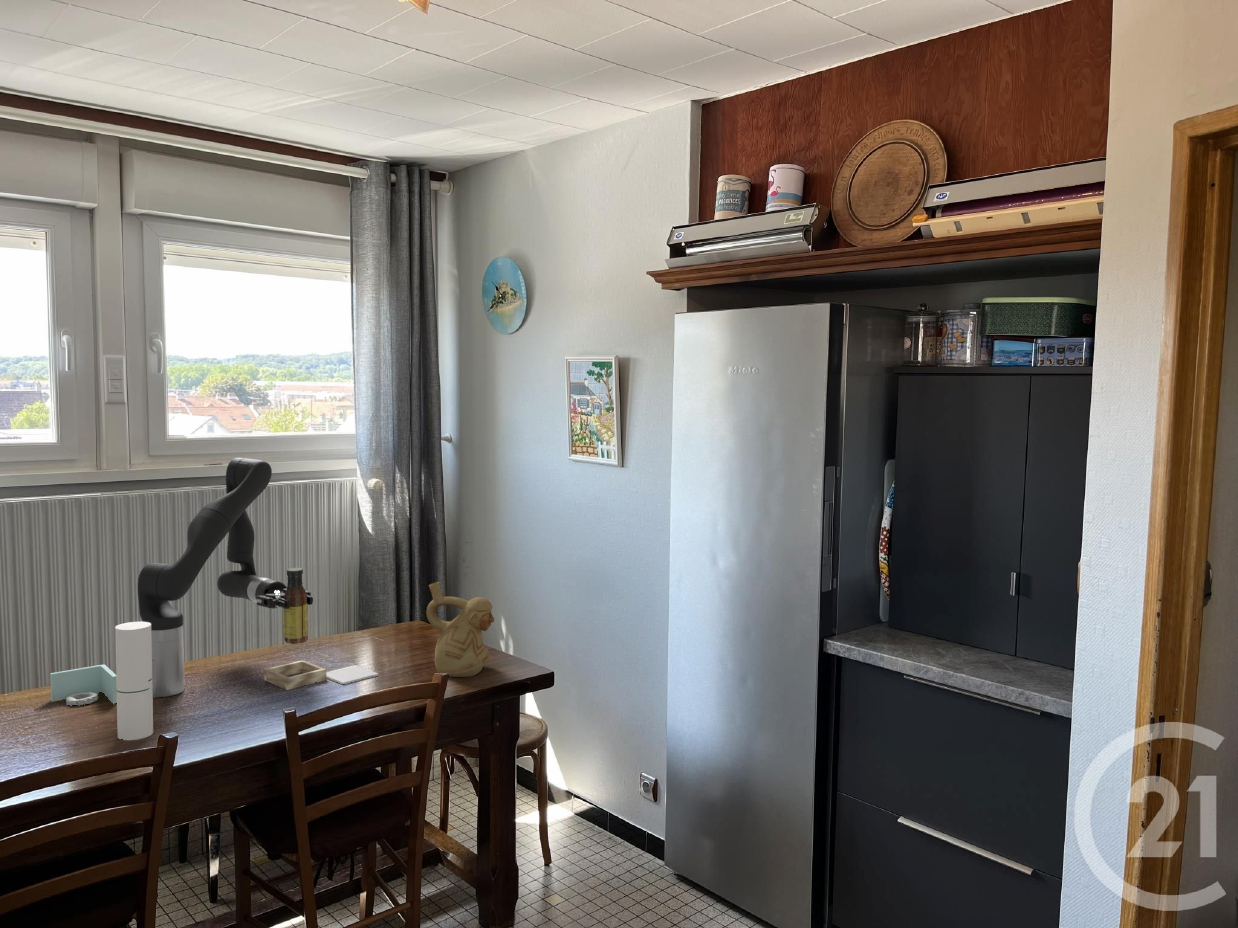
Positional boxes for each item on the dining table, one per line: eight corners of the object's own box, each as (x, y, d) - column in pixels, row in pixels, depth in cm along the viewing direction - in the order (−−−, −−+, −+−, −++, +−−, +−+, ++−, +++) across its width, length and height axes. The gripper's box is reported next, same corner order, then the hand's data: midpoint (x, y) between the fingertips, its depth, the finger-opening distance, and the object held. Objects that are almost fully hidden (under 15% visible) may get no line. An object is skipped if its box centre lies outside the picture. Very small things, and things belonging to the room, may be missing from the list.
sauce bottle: (299, 637, 253) (300, 565, 251) (312, 641, 249) (313, 568, 247) (277, 641, 248) (278, 568, 246) (290, 646, 244) (291, 572, 242)
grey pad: (343, 684, 246) (343, 682, 246) (320, 675, 253) (320, 673, 253) (378, 675, 255) (378, 673, 254) (354, 666, 262) (354, 664, 262)
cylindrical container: (158, 728, 213) (156, 621, 211) (144, 740, 206) (141, 630, 204) (127, 728, 213) (124, 621, 210) (111, 739, 205) (108, 629, 203)
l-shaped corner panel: (51, 702, 229) (50, 673, 229) (105, 692, 237) (104, 664, 237) (62, 716, 220) (61, 685, 220) (117, 705, 228) (117, 675, 228)
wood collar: (287, 689, 241) (287, 678, 241) (264, 680, 248) (264, 669, 248) (326, 679, 250) (326, 668, 250) (303, 670, 257) (303, 660, 257)
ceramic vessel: (484, 682, 251) (485, 591, 249) (415, 677, 254) (416, 587, 252) (502, 664, 267) (503, 579, 265) (437, 659, 270) (437, 575, 268)
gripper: (242, 582, 251) (275, 593, 240) (290, 575, 262) (324, 585, 251) (242, 609, 251) (274, 621, 241) (290, 601, 262) (324, 612, 252)
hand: (299, 602), depth 246 cm, fingers closed on sauce bottle, 6 cm apart
